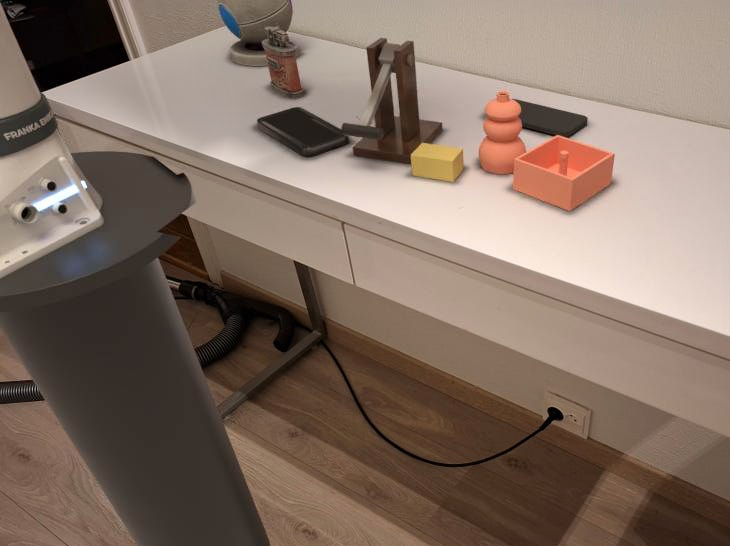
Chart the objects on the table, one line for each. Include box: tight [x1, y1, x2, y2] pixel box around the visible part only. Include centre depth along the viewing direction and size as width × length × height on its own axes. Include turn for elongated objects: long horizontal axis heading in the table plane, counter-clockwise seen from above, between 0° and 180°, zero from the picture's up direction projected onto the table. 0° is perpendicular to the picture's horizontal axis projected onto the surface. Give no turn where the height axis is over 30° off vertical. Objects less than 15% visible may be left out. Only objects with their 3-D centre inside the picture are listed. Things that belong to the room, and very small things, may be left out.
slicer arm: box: [340, 42, 401, 140], centre depth 90 cm, size 14×6×2 cm
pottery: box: [478, 90, 616, 212], centre depth 88 cm, size 18×10×10 cm, turn 49°
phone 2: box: [485, 98, 589, 138], centre depth 104 cm, size 7×1×15 cm
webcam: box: [217, 0, 301, 67], centre depth 124 cm, size 13×13×15 cm
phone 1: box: [256, 106, 350, 157], centre depth 101 cm, size 8×1×15 cm
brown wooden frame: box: [352, 37, 444, 165], centre depth 95 cm, size 12×9×14 cm
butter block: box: [410, 143, 465, 183], centre depth 91 cm, size 4×6×3 cm, turn 71°
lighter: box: [262, 26, 305, 99], centre depth 112 cm, size 8×3×10 cm, turn 42°
